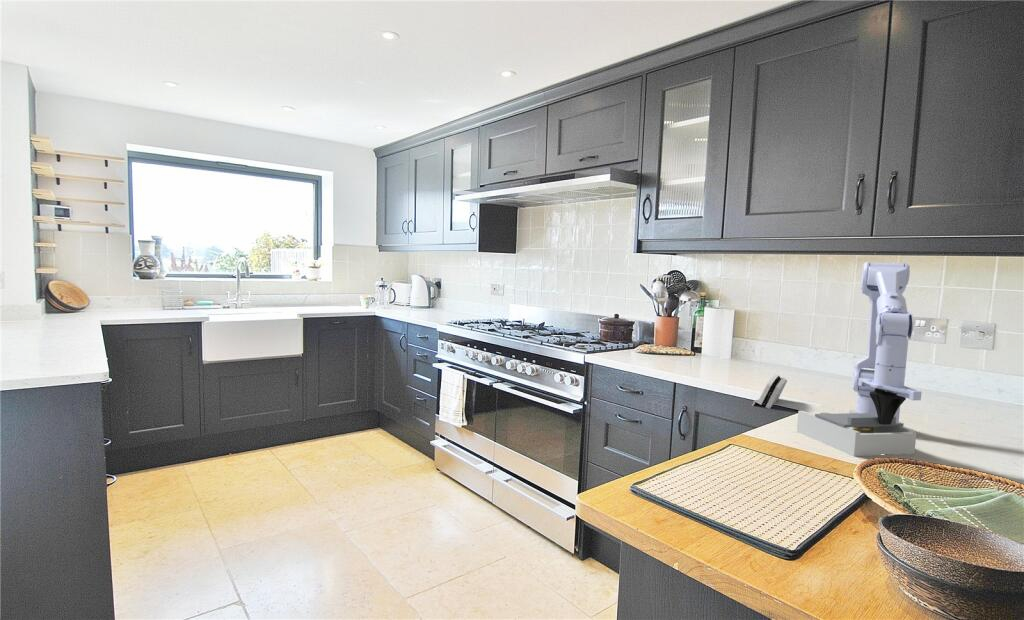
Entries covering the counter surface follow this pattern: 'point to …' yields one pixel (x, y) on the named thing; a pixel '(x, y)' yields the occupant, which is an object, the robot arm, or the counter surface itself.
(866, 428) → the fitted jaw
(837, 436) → the box
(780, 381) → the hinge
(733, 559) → the counter surface
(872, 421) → the lid
